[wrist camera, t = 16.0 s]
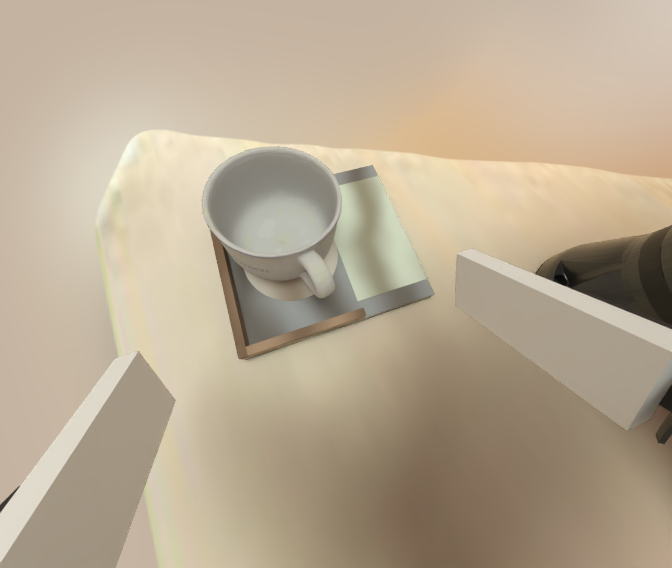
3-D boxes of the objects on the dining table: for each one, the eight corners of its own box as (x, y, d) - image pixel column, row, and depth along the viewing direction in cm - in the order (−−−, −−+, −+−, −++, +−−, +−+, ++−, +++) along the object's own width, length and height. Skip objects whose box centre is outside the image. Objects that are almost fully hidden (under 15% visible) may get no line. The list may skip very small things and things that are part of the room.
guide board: (371, 170, 32) (375, 155, 30) (430, 296, 27) (441, 290, 25) (212, 209, 29) (202, 195, 27) (246, 359, 24) (238, 358, 22)
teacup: (224, 215, 28) (188, 157, 20) (317, 190, 30) (316, 128, 22) (257, 335, 24) (228, 320, 16) (362, 298, 26) (380, 269, 18)
